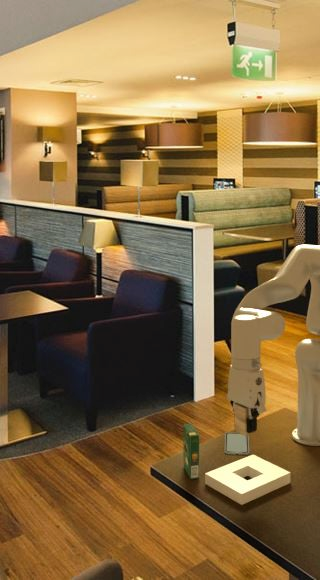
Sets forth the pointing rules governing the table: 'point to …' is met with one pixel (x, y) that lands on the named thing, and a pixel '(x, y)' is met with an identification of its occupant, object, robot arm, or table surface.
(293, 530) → the table surface
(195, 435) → the coffee box
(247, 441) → the smartphone
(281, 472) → the socket plate
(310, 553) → the table surface
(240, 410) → the plug
